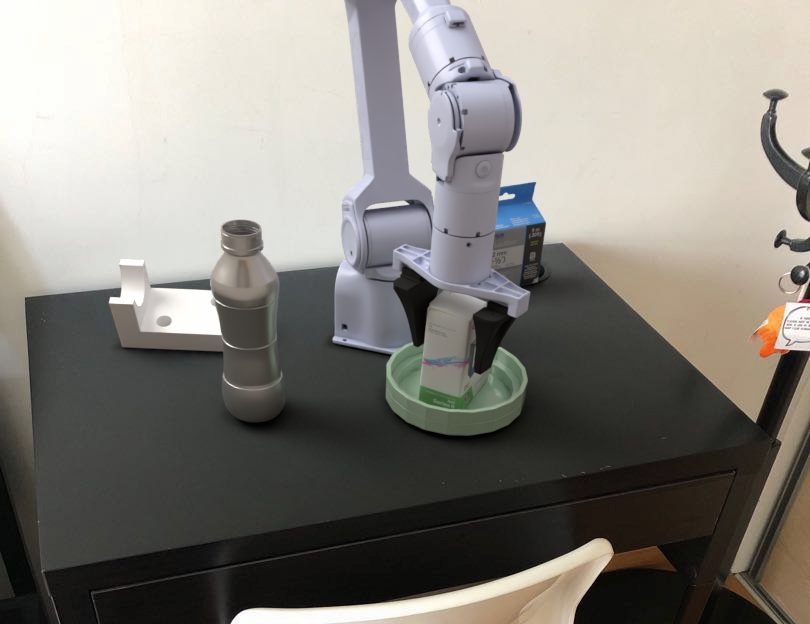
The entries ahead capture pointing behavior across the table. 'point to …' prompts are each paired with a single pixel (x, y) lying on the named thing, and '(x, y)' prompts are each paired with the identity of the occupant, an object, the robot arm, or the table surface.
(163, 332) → the bracket
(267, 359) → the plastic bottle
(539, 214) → the label tape box
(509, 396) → the bowl
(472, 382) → the ink box
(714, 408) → the table surface
